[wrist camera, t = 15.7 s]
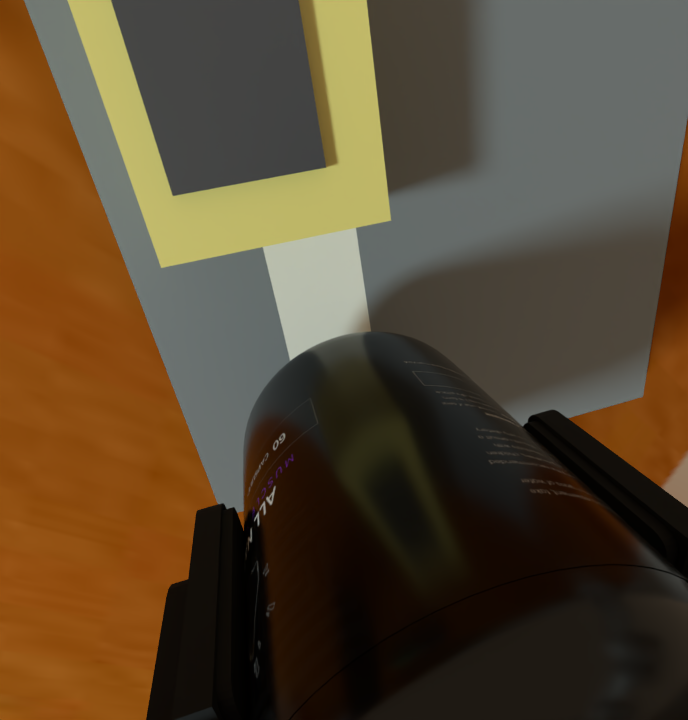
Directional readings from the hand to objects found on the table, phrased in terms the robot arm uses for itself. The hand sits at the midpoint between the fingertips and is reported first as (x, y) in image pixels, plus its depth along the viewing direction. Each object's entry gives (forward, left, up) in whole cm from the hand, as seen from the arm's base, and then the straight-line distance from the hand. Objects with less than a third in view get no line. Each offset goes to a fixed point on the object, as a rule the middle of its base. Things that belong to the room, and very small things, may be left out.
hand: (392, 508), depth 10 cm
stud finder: (+1, -10, -6) cm, 11 cm away
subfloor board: (-4, -5, -8) cm, 10 cm away
